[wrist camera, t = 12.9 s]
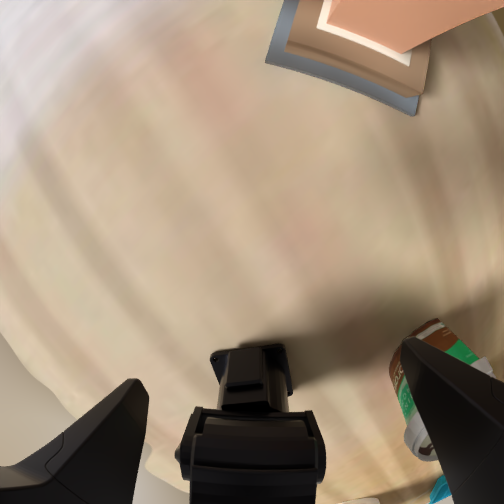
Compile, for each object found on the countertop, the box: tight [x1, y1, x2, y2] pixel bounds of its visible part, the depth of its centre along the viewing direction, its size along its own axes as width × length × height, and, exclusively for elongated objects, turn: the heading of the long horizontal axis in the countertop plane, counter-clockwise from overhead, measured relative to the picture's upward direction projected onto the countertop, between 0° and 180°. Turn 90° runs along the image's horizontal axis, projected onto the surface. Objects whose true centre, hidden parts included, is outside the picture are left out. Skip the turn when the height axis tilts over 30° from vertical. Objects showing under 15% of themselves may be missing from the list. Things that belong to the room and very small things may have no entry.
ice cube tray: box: [429, 475, 451, 504], centre depth 40 cm, size 12×20×3 cm, turn 20°
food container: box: [389, 318, 496, 461], centre depth 20 cm, size 12×6×10 cm, turn 11°
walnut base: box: [265, 0, 432, 116], centre depth 14 cm, size 11×11×3 cm
